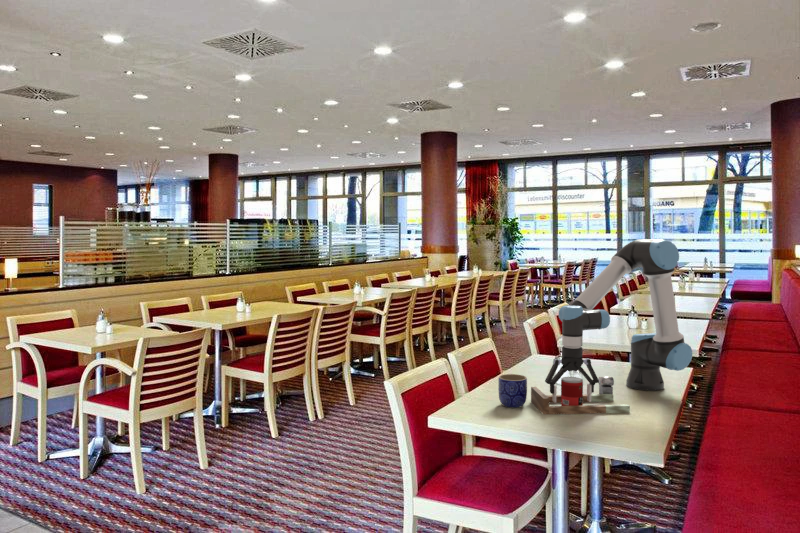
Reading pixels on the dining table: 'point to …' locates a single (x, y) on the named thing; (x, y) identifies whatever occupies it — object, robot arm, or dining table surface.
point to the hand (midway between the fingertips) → (571, 401)
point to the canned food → (571, 391)
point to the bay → (543, 405)
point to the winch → (606, 385)
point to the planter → (512, 390)
